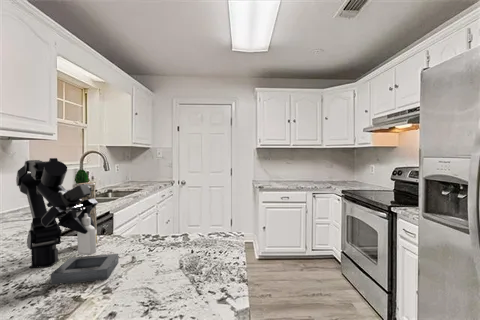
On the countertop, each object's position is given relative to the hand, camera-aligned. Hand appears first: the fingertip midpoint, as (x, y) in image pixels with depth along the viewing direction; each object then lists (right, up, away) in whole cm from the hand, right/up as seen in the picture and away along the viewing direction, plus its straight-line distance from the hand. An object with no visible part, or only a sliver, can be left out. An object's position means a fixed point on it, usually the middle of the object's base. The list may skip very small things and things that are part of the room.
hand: (90, 231), depth 91 cm
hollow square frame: (-1, -13, 0) cm, 13 cm away
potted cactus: (-68, -15, +125) cm, 143 cm away
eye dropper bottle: (-1, -7, 0) cm, 7 cm away
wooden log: (-17, -13, +32) cm, 39 cm away
